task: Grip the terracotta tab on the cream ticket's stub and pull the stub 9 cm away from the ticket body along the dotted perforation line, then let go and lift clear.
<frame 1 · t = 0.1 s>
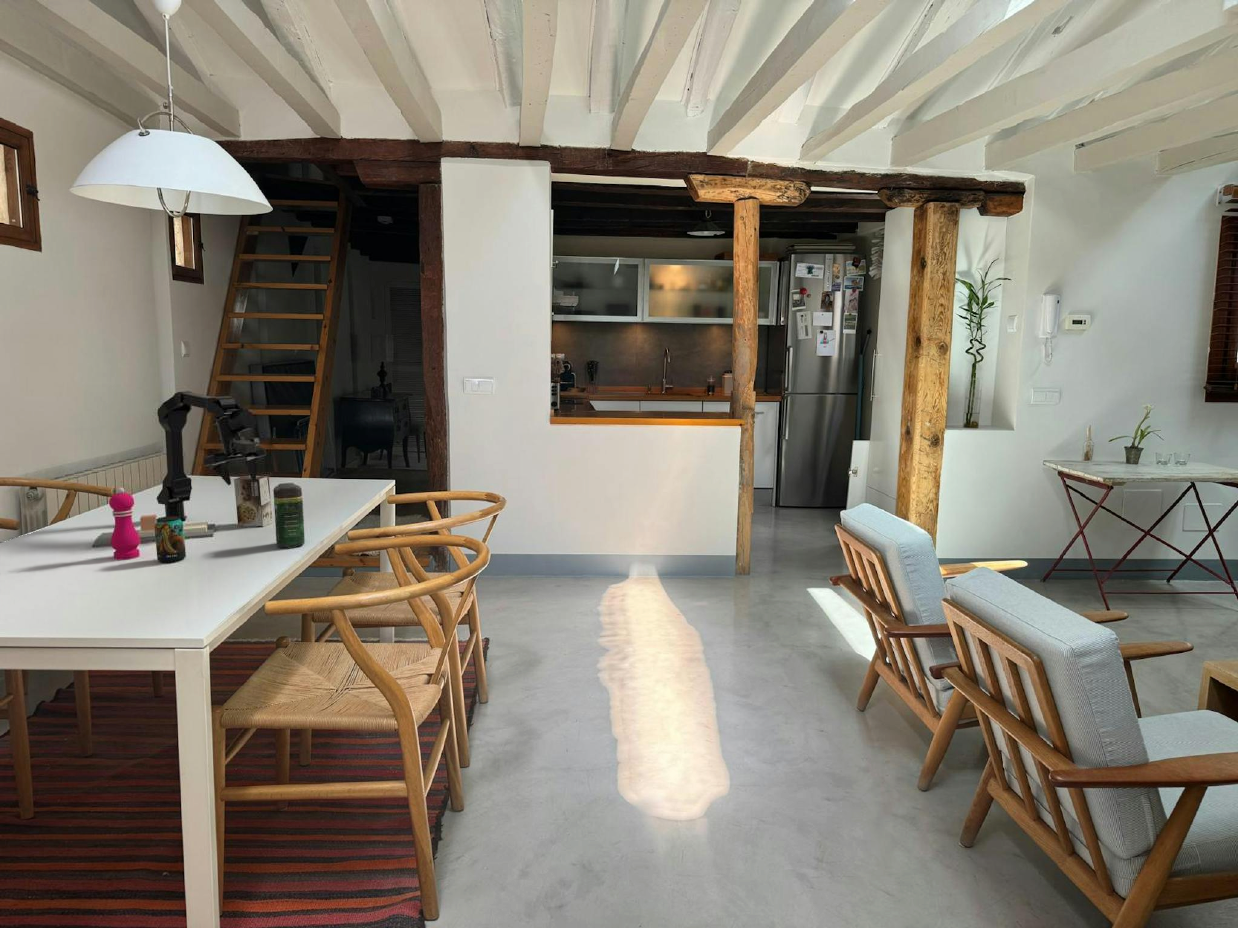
hand: (242, 482, 258), 16 cm above the table, tool pointing down, fingers open, 9 cm apart
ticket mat: (157, 536, 252), on the table
pepper mill: (127, 557, 228), on the table
coffee jar: (291, 545, 241), on the table
beverage can: (172, 560, 225), on the table
stub: (150, 524, 251), point 4 cm above the table, slide at 0.0 cm
coffee box: (255, 525, 268), on the table, touching gripper
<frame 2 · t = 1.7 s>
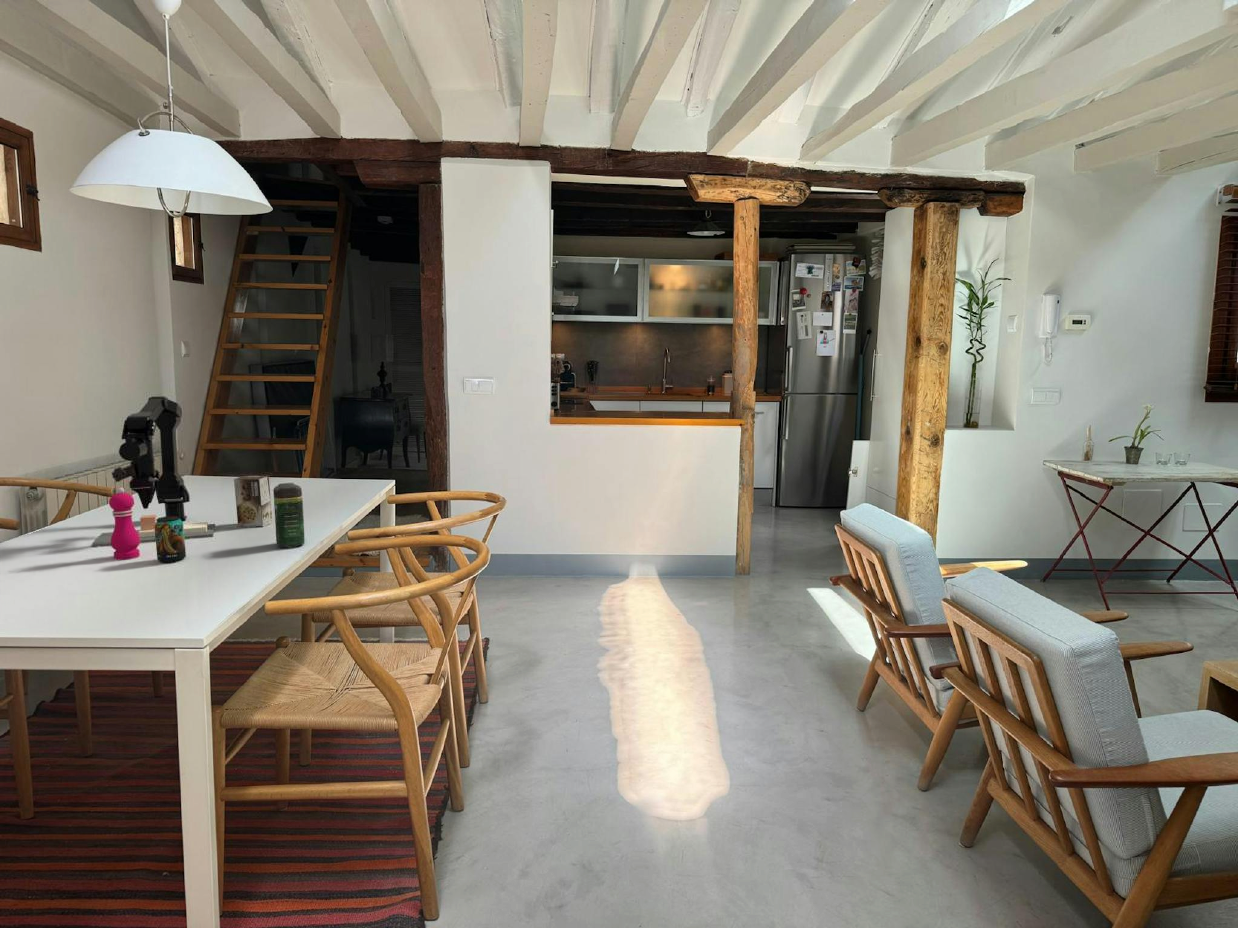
hand: (147, 505, 250), 10 cm above the table, tool pointing down, fingers open, 9 cm apart
coffee box: (255, 525, 268), on the table
everything else where it was.
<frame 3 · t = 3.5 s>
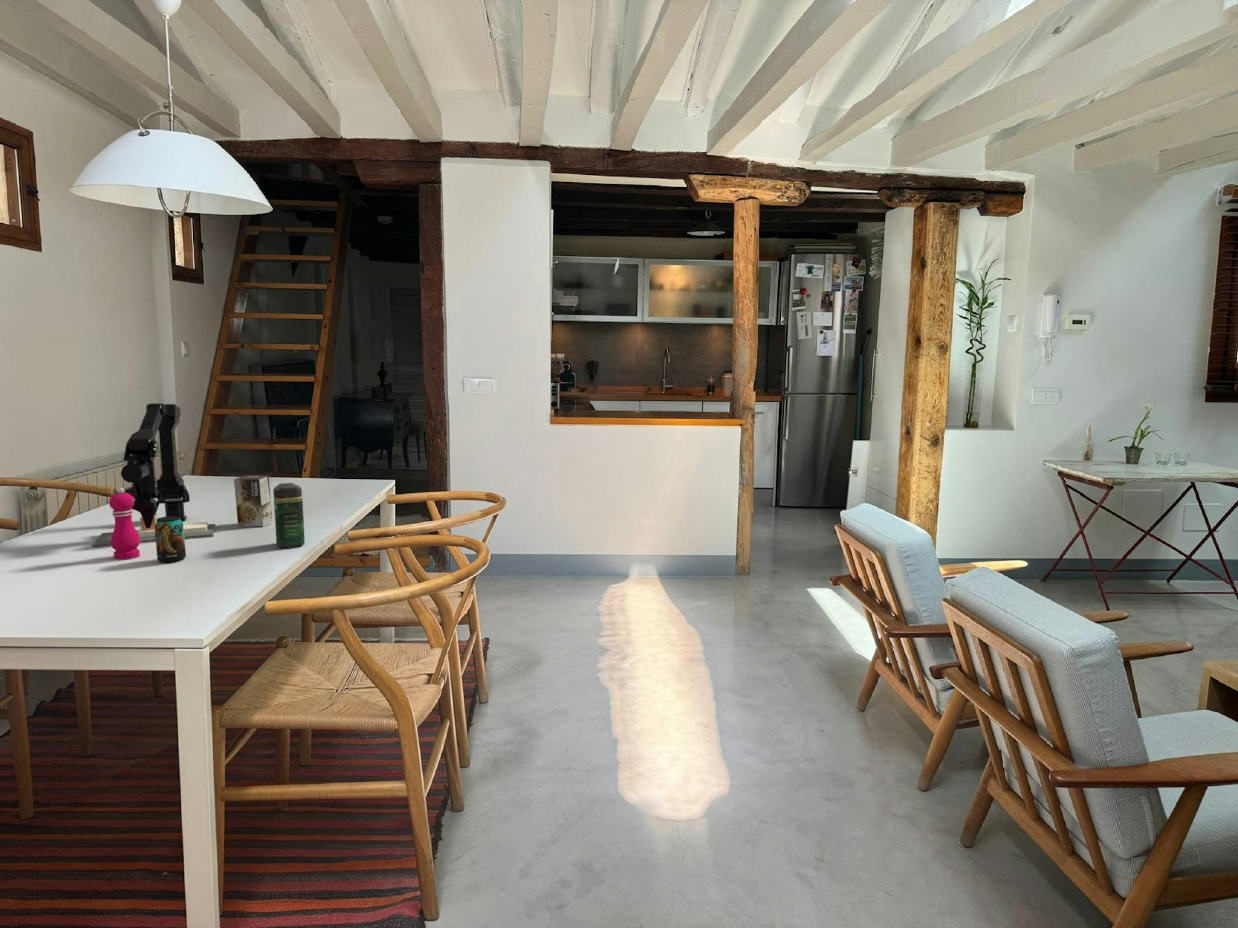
hand: (149, 526, 251), 3 cm above the table, tool pointing down, fingers closed on stub, 4 cm apart
stub: (150, 524, 251), point 4 cm above the table, slide at 0.0 cm, touching gripper
everything else where it was.
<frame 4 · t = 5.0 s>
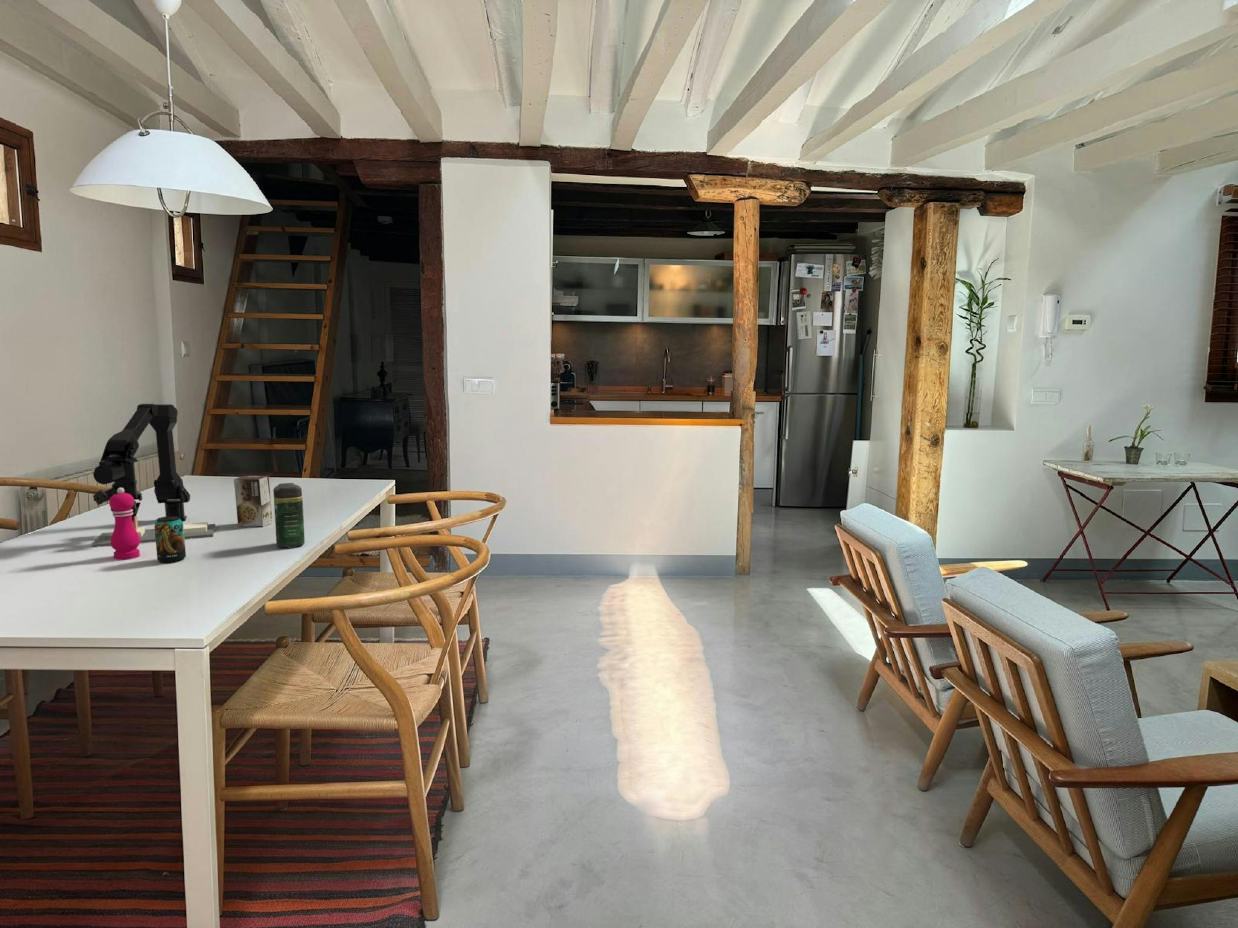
hand: (129, 528, 249), 3 cm above the table, tool pointing down, fingers closed on stub, 4 cm apart
stub: (131, 526, 249), point 4 cm above the table, slide at 5.3 cm, touching gripper
everything else where it was.
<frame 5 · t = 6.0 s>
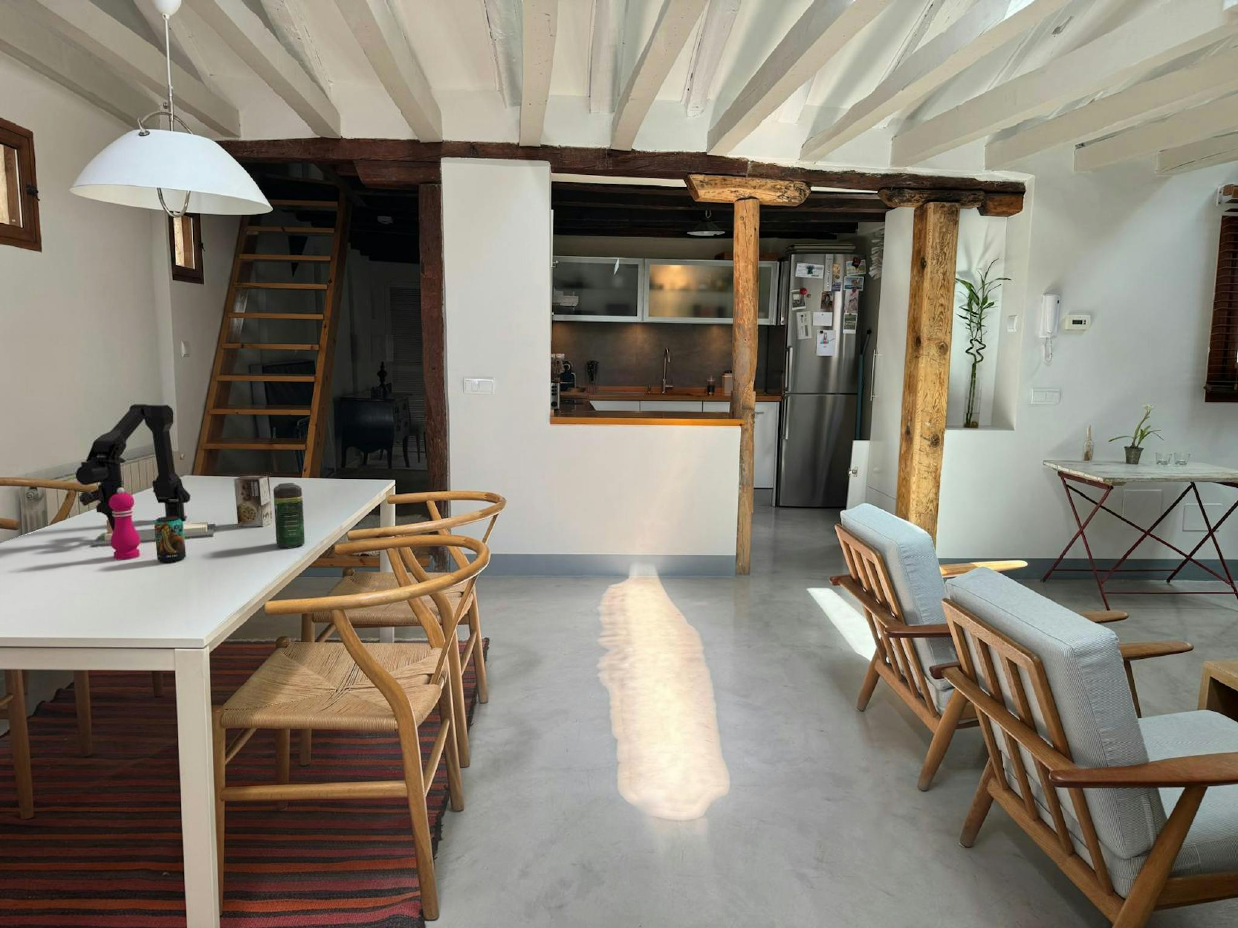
hand: (116, 529, 248), 3 cm above the table, tool pointing down, fingers closed on stub, 4 cm apart
stub: (117, 527, 248), point 4 cm above the table, slide at 8.9 cm, touching gripper
everything else where it was.
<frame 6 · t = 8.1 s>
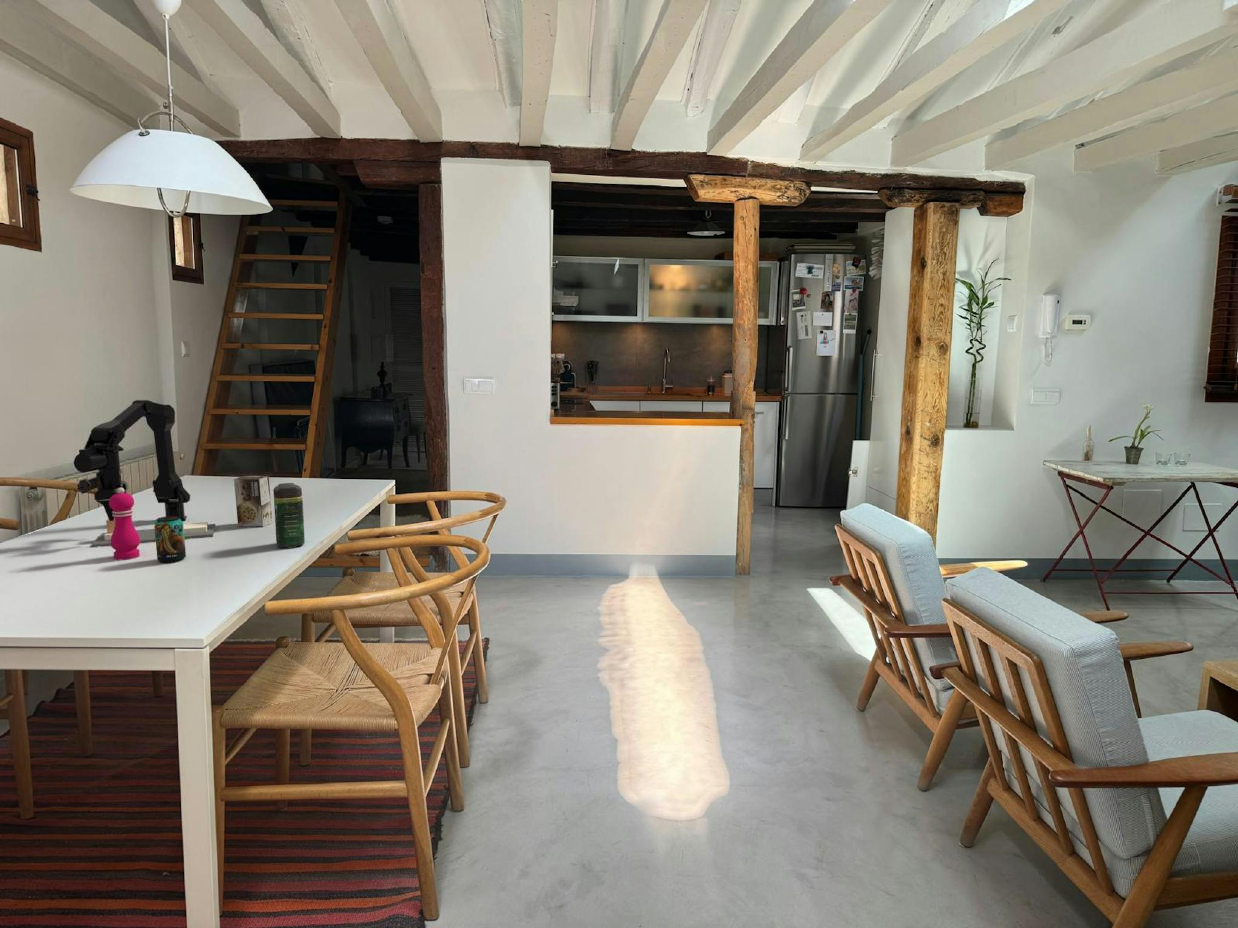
hand: (114, 517, 247), 7 cm above the table, tool pointing down, fingers open, 9 cm apart
stub: (117, 527, 248), point 4 cm above the table, slide at 9.0 cm
everything else where it was.
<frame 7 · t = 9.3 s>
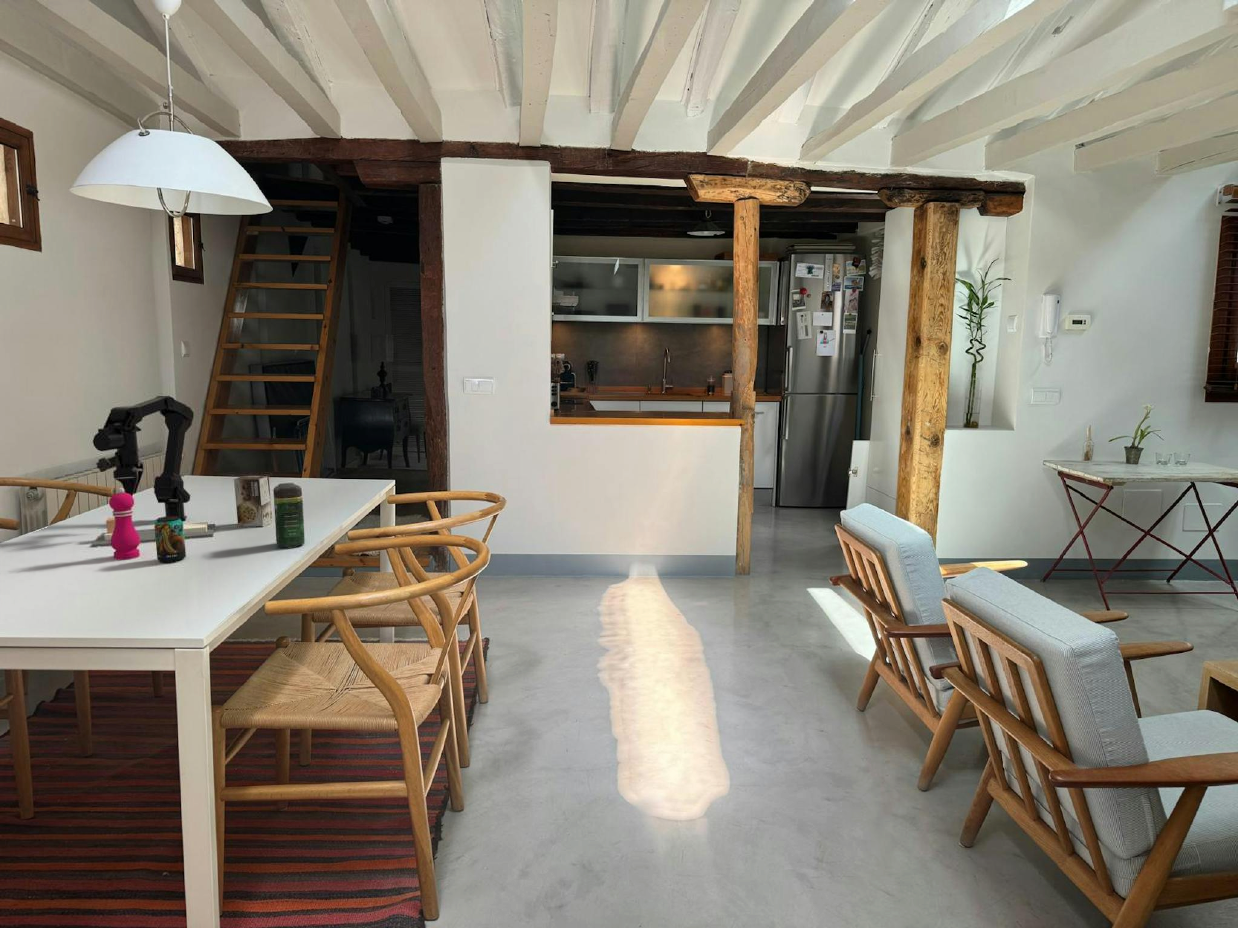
hand: (131, 495, 255), 12 cm above the table, tool pointing down, fingers open, 9 cm apart
nothing on the table moved.
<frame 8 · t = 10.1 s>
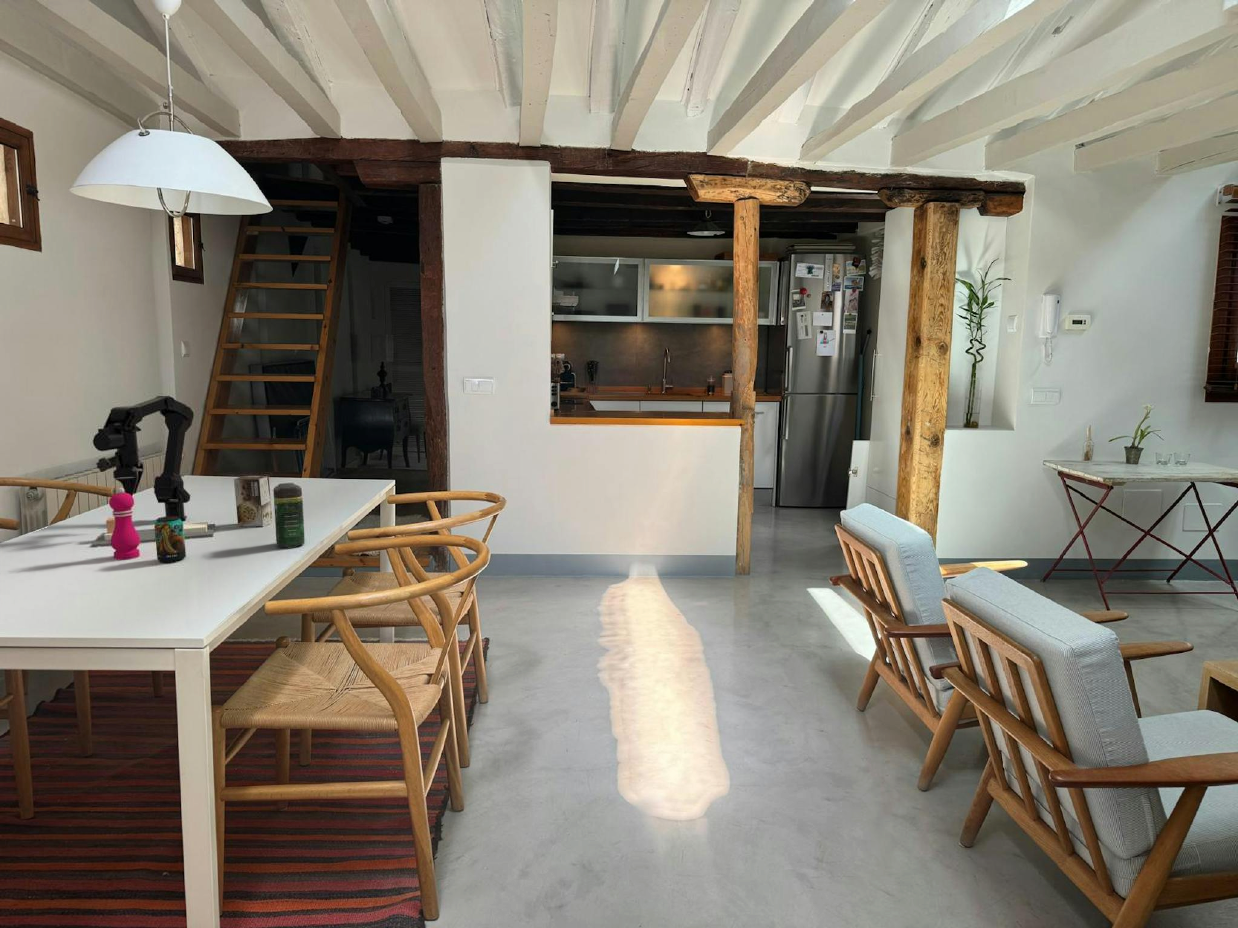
hand: (131, 495, 255), 12 cm above the table, tool pointing down, fingers open, 9 cm apart
nothing on the table moved.
at the end: stub slide at 9.0 cm; the gripper is holding nothing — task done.
